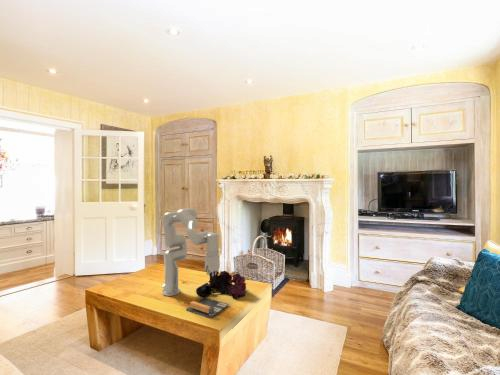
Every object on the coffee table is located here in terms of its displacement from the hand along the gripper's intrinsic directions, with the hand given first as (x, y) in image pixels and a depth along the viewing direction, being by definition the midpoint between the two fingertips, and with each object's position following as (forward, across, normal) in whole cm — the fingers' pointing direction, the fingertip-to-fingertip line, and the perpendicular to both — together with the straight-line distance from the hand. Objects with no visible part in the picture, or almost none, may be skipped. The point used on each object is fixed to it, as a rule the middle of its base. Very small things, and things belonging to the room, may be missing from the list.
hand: (212, 281), depth 163 cm
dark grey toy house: (+19, -16, -20) cm, 32 cm away
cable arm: (+17, +5, -4) cm, 18 cm away
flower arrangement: (+19, -30, -8) cm, 36 cm away
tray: (+19, -2, -5) cm, 19 cm away
